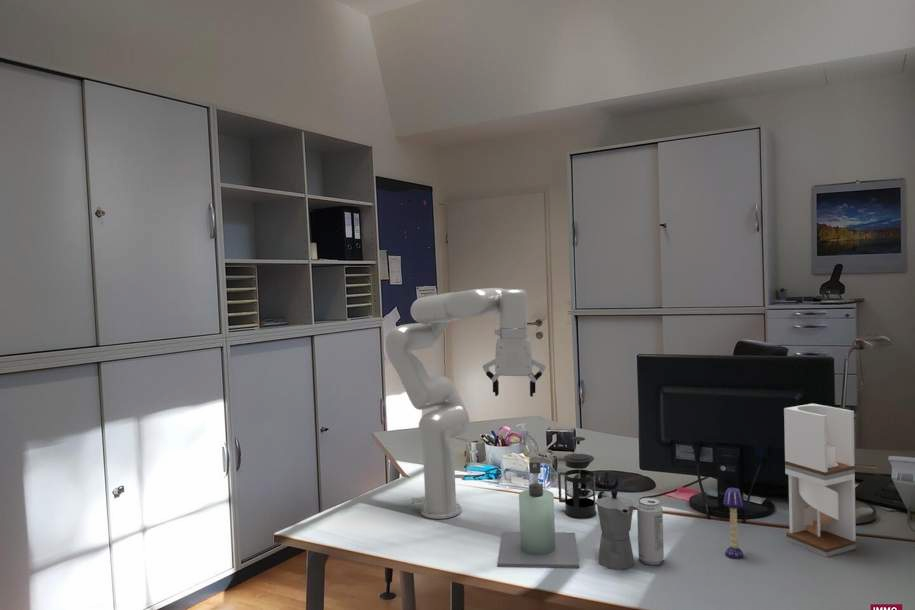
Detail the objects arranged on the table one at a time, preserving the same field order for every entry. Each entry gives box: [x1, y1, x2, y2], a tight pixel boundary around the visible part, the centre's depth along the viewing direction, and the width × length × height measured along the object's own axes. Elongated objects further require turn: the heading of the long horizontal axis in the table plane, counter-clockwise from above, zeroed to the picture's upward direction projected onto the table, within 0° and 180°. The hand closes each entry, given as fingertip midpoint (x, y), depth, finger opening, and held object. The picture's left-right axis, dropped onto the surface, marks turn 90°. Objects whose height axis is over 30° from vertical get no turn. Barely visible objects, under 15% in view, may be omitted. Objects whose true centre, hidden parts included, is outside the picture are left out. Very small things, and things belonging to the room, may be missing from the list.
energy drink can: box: [636, 497, 665, 566], centre depth 162 cm, size 6×6×15 cm
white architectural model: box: [783, 403, 857, 558], centre depth 167 cm, size 11×11×35 cm
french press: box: [557, 436, 598, 520], centre depth 196 cm, size 12×9×23 cm
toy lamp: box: [723, 487, 744, 560], centre depth 163 cm, size 5×5×17 cm
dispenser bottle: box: [496, 482, 580, 569], centre depth 171 cm, size 20×20×17 cm
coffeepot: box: [595, 489, 636, 570], centre depth 163 cm, size 15×9×18 cm, turn 13°
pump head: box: [528, 456, 542, 484], centre depth 169 cm, size 3×8×6 cm, turn 172°
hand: (514, 395), depth 181 cm, fingers open, 9 cm apart
